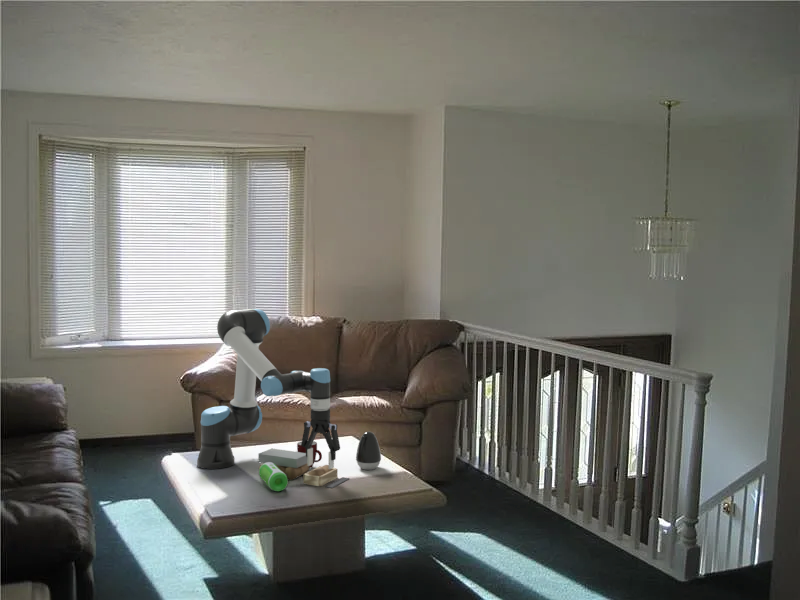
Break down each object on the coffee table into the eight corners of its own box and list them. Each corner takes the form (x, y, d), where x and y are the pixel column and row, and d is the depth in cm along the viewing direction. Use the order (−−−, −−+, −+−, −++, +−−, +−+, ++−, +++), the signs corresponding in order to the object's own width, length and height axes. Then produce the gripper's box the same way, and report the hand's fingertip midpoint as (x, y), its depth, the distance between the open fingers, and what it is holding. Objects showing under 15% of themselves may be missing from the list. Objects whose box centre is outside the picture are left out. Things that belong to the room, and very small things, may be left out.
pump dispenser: (351, 470, 299) (351, 433, 298) (362, 463, 309) (362, 427, 308) (374, 473, 295) (374, 435, 294) (384, 466, 305) (384, 430, 304)
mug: (325, 465, 306) (325, 441, 305) (319, 470, 298) (319, 446, 297) (301, 463, 308) (301, 440, 308) (294, 469, 300) (294, 445, 300)
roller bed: (258, 475, 292) (258, 462, 292) (273, 468, 301) (273, 456, 301) (295, 481, 285) (294, 468, 284) (309, 474, 294) (309, 461, 293)
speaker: (257, 480, 285) (257, 461, 285) (276, 478, 288) (276, 459, 288) (269, 494, 269) (269, 473, 269) (289, 491, 272) (288, 471, 272)
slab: (258, 462, 292) (258, 453, 292) (271, 456, 300) (271, 448, 300) (296, 468, 284) (296, 459, 284) (309, 462, 293) (309, 453, 292)
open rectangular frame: (302, 483, 281) (302, 474, 281) (320, 474, 293) (320, 465, 293) (320, 486, 278) (320, 477, 278) (338, 477, 290) (338, 468, 289)
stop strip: (325, 487, 277) (325, 486, 277) (342, 477, 289) (342, 477, 289) (332, 488, 276) (332, 487, 276) (349, 478, 287) (349, 478, 287)
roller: (307, 483, 282) (308, 470, 282) (321, 476, 291) (322, 463, 291) (318, 485, 280) (319, 472, 279) (332, 478, 289) (333, 465, 288)
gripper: (291, 408, 285) (291, 465, 286) (339, 413, 276) (339, 472, 277) (302, 404, 292) (302, 460, 293) (349, 409, 282) (349, 467, 284)
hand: (320, 466), depth 285 cm, fingers open, 9 cm apart
